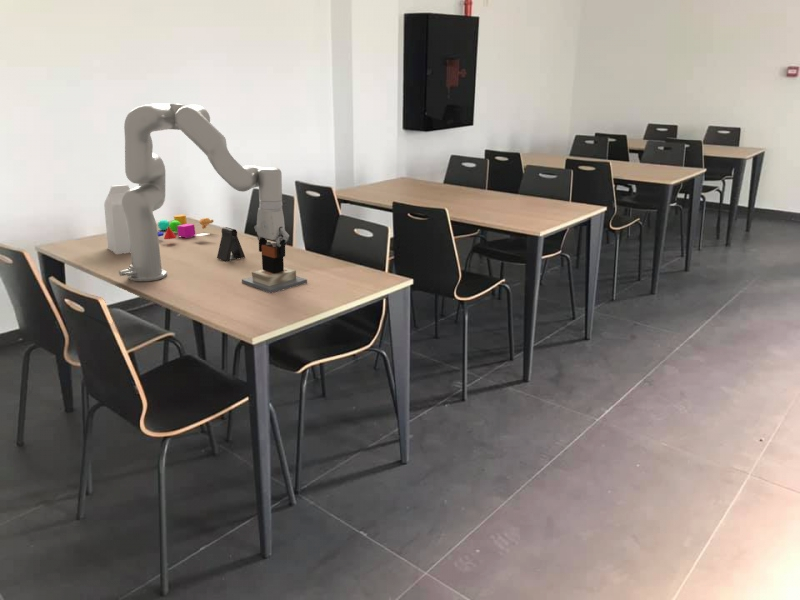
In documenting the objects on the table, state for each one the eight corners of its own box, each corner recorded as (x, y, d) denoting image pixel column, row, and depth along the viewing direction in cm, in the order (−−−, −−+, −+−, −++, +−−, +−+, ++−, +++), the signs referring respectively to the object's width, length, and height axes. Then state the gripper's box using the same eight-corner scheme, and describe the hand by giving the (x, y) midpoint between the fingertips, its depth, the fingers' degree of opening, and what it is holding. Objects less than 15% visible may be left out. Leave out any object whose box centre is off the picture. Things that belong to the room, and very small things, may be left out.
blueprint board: (270, 293, 210) (270, 289, 210) (241, 282, 220) (241, 279, 219) (307, 282, 222) (307, 279, 221) (278, 273, 231) (277, 270, 231)
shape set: (183, 228, 301) (181, 213, 299) (233, 233, 282) (231, 217, 279) (128, 239, 278) (125, 223, 276) (177, 246, 259) (174, 228, 257)
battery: (274, 274, 216) (273, 245, 212) (261, 270, 220) (260, 242, 216) (284, 271, 219) (283, 243, 215) (271, 267, 223) (270, 240, 219)
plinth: (268, 286, 213) (268, 277, 212) (252, 280, 219) (252, 271, 218) (296, 278, 222) (295, 269, 221) (279, 273, 227) (279, 264, 226)
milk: (116, 254, 250) (107, 189, 241) (107, 248, 258) (99, 184, 249) (147, 250, 257) (140, 186, 248) (137, 244, 265) (130, 182, 256)
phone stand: (226, 261, 244) (223, 231, 240) (216, 258, 248) (214, 228, 244) (245, 257, 250) (243, 227, 246) (235, 254, 254) (234, 225, 250)
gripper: (245, 202, 214) (247, 250, 220) (278, 210, 204) (279, 261, 209) (263, 199, 219) (265, 247, 225) (296, 207, 209) (296, 257, 215)
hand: (272, 254), depth 217 cm, fingers open, 9 cm apart
